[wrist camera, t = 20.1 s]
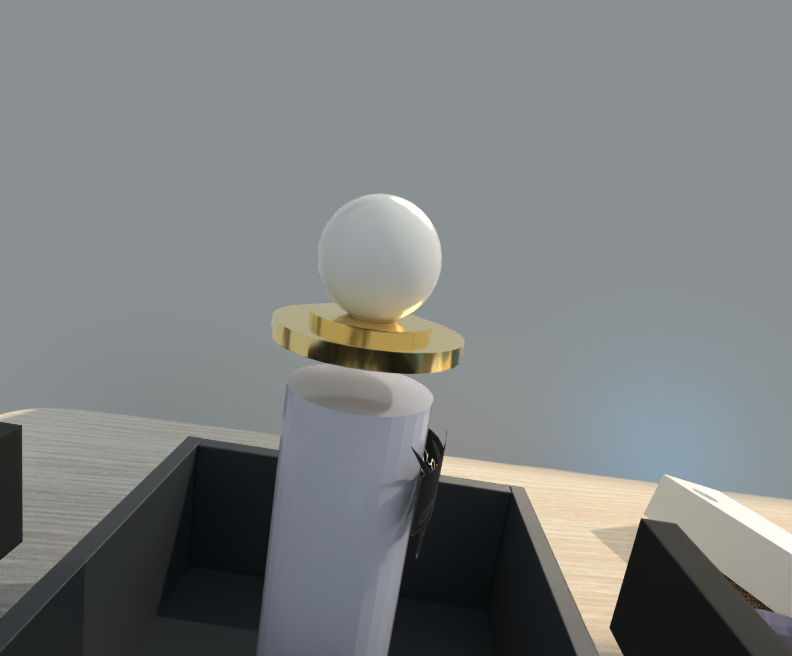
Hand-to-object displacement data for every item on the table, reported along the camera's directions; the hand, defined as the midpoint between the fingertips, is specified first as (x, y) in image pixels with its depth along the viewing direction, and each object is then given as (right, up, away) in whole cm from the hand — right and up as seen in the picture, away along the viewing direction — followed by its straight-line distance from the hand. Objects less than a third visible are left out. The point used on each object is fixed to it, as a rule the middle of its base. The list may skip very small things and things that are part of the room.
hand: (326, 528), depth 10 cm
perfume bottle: (-2, -11, +8) cm, 14 cm away
